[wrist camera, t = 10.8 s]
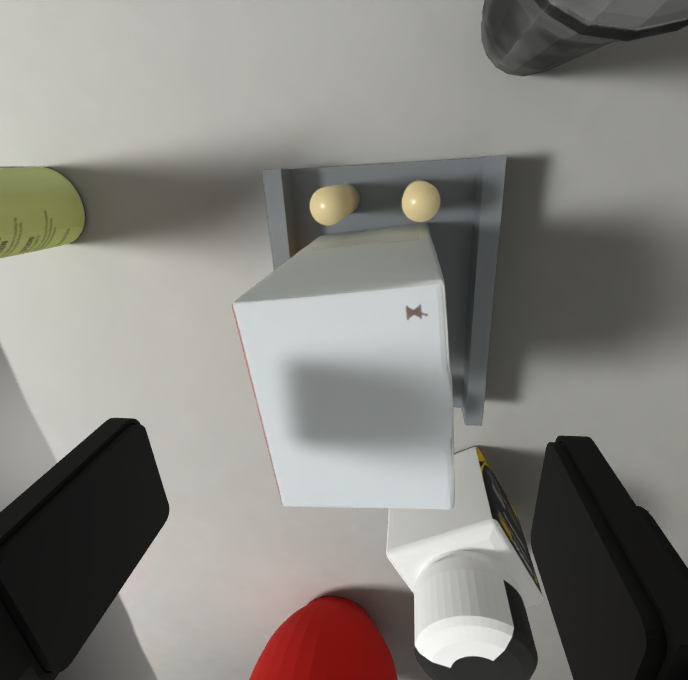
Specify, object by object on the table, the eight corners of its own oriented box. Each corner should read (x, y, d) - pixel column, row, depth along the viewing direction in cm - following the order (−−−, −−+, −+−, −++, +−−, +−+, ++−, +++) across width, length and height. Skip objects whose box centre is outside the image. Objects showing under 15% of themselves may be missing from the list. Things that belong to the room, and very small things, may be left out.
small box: (318, 234, 24) (224, 297, 12) (429, 220, 22) (450, 275, 10) (338, 359, 26) (279, 512, 15) (436, 353, 25) (460, 514, 13)
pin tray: (280, 170, 24) (235, 169, 18) (493, 157, 22) (526, 151, 16) (303, 393, 29) (275, 451, 23) (474, 398, 27) (492, 463, 21)
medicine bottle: (517, 513, 31) (577, 704, 20) (432, 539, 33) (443, 723, 22) (477, 443, 29) (518, 610, 18) (389, 475, 31) (377, 641, 20)
